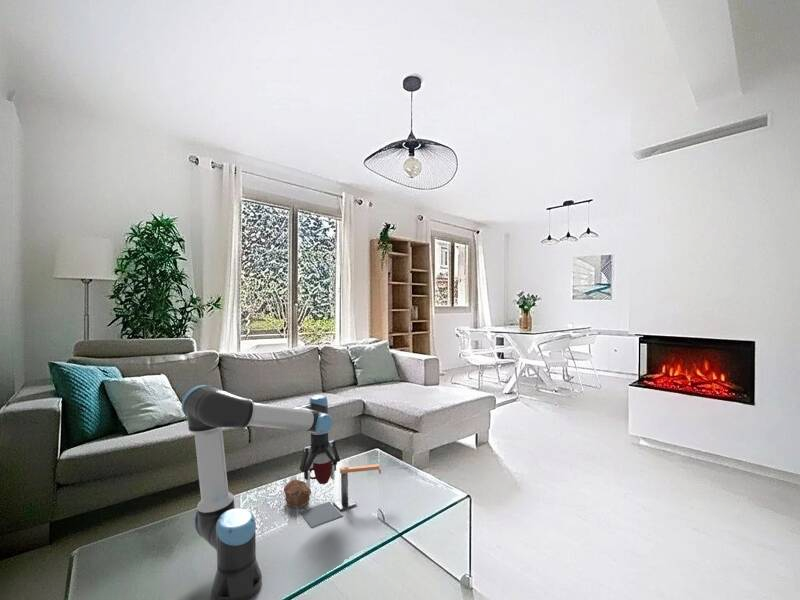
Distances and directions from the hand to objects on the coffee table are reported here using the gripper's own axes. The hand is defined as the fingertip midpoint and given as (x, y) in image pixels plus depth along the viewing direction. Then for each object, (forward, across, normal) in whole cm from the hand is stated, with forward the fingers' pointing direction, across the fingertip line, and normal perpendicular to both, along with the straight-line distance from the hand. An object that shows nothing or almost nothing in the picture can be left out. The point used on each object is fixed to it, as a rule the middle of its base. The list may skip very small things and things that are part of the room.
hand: (320, 482), depth 168 cm
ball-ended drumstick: (+1, +19, -2) cm, 19 cm away
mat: (+14, 0, 0) cm, 14 cm away
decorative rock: (+14, -5, +15) cm, 21 cm away
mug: (+1, 0, 0) cm, 1 cm away
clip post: (+14, +12, +1) cm, 18 cm away
